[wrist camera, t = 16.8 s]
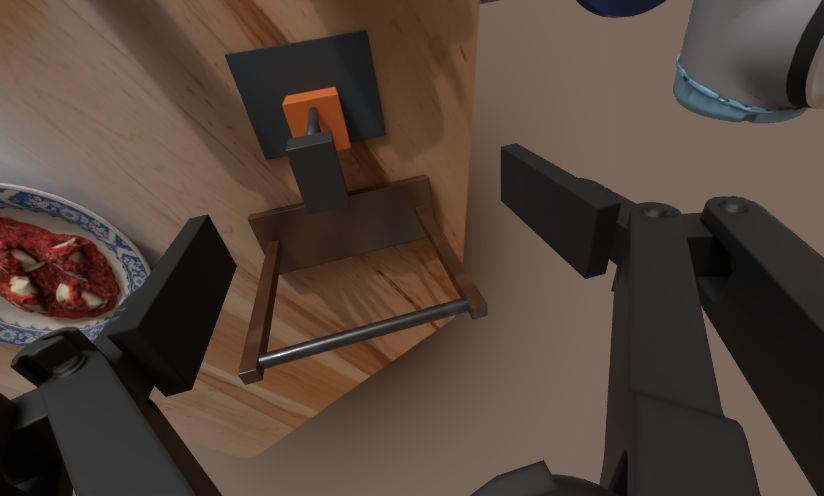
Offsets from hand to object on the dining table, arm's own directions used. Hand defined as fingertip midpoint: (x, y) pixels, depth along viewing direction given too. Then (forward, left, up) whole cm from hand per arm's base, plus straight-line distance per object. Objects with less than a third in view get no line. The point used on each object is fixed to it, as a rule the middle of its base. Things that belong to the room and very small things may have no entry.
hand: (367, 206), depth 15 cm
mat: (+3, 0, -33) cm, 33 cm away
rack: (+3, +18, -33) cm, 37 cm away
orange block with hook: (+3, +2, -32) cm, 32 cm away
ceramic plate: (+43, +14, -33) cm, 56 cm away
